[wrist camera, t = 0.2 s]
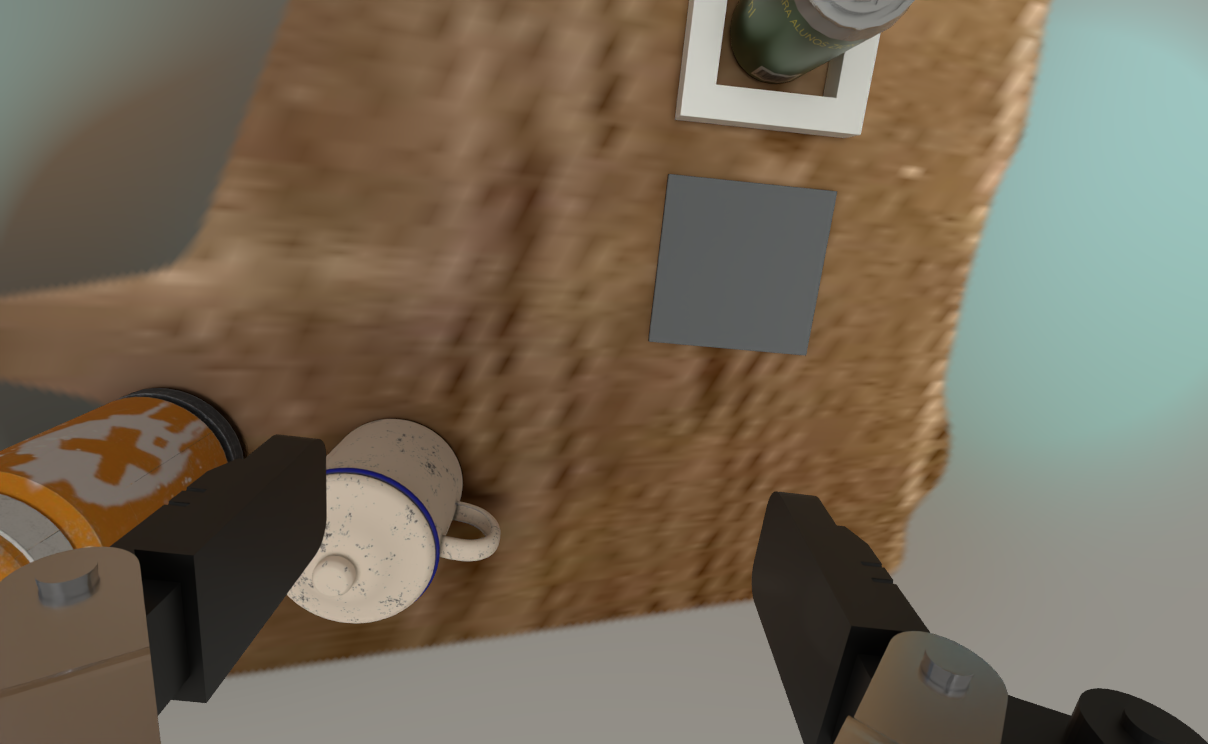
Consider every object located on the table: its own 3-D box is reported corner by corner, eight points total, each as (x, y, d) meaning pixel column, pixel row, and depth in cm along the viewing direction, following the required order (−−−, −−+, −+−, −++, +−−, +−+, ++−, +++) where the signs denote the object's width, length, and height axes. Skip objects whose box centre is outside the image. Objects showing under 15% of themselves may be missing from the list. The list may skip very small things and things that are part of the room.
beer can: (818, 85, 36) (929, 35, 24) (724, 86, 36) (791, 35, 24) (827, -22, 34) (949, -129, 23) (729, -22, 34) (802, -130, 23)
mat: (668, 174, 37) (669, 174, 37) (834, 191, 38) (837, 191, 37) (648, 340, 40) (649, 341, 39) (803, 353, 40) (806, 355, 40)
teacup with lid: (321, 525, 43) (226, 643, 31) (337, 400, 40) (241, 480, 29) (497, 557, 44) (466, 683, 32) (522, 437, 41) (499, 529, 30)
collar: (698, -82, 33) (706, -100, 31) (881, -58, 34) (901, -75, 32) (674, 119, 36) (680, 115, 34) (844, 138, 37) (860, 134, 35)
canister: (273, 431, 41) (-8, 646, 21) (201, 559, 43) (-111, 856, 24) (139, 358, 39) (-294, 518, 20) (72, 494, 41) (-373, 756, 22)
